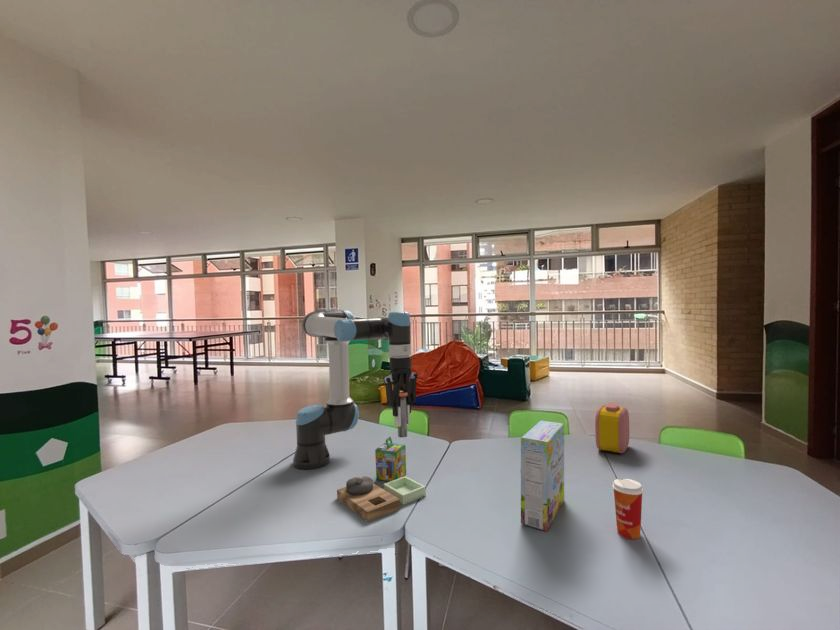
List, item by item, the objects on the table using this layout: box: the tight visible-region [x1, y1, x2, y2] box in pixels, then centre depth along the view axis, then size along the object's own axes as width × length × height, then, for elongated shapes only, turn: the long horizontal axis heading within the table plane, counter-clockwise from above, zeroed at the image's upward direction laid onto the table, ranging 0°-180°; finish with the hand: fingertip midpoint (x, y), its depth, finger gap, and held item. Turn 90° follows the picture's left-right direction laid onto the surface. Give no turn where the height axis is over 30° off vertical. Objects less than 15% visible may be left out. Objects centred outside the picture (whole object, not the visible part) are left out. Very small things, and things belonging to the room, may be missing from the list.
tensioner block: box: [336, 475, 401, 523], centre depth 130 cm, size 20×12×7 cm, turn 39°
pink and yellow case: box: [594, 402, 630, 455], centre depth 174 cm, size 18×11×19 cm, turn 144°
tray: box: [383, 475, 427, 505], centre depth 136 cm, size 12×10×3 cm
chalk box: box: [374, 436, 407, 482], centre depth 151 cm, size 9×9×15 cm
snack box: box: [520, 420, 565, 532], centre depth 122 cm, size 22×9×26 cm, turn 148°
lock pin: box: [397, 390, 408, 438], centre depth 136 cm, size 4×4×15 cm
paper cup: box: [612, 478, 645, 540], centre depth 109 cm, size 8×8×14 cm
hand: (402, 424), depth 136 cm, fingers closed on lock pin, 3 cm apart
